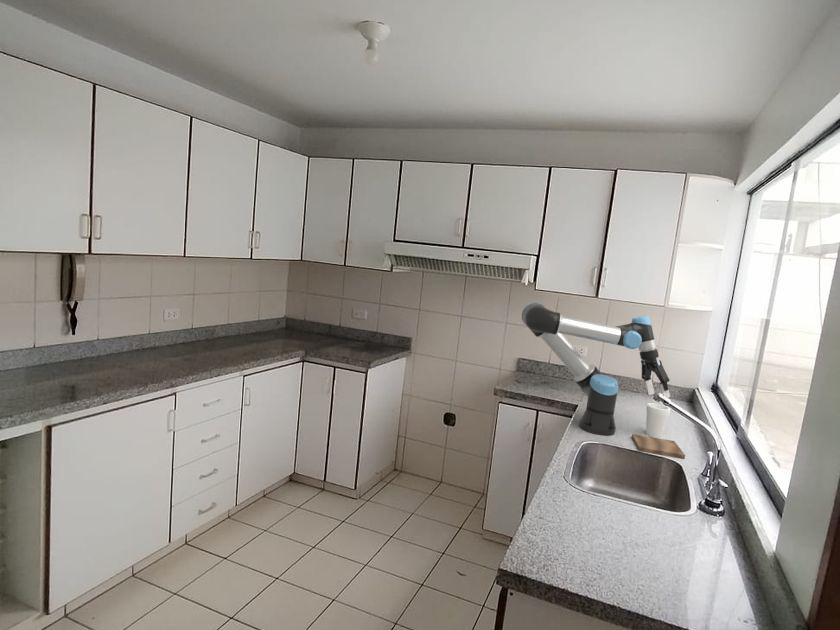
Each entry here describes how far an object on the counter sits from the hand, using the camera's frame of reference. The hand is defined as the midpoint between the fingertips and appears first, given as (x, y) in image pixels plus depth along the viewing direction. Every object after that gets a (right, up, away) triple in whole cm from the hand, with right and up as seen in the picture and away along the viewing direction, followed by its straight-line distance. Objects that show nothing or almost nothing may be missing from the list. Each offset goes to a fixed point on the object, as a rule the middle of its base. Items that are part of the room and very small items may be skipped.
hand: (659, 395), depth 232 cm
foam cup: (-4, -17, -4) cm, 18 cm away
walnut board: (-10, -18, -20) cm, 29 cm away
